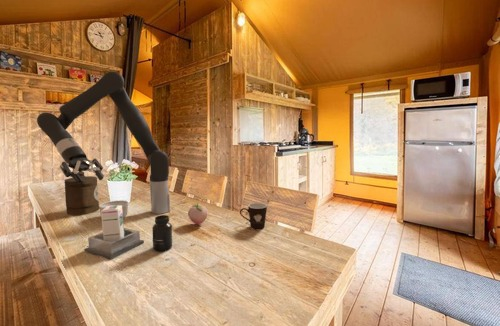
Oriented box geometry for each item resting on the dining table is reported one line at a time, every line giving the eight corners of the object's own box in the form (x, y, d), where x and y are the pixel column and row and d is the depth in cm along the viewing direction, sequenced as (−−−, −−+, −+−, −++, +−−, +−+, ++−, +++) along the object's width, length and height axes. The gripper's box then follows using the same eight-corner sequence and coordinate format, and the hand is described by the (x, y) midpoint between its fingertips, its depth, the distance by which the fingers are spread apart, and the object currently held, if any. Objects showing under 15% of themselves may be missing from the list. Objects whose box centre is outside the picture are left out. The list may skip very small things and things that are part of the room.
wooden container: (104, 209, 137) (101, 170, 135) (74, 217, 125) (70, 174, 122) (91, 205, 145) (88, 168, 143) (61, 212, 133) (57, 172, 130)
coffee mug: (269, 225, 115) (269, 204, 114) (262, 231, 107) (262, 209, 106) (247, 221, 120) (247, 201, 119) (238, 227, 112) (238, 206, 111)
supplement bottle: (154, 254, 87) (152, 221, 86) (152, 246, 93) (150, 215, 92) (174, 249, 91) (173, 218, 89) (170, 242, 97) (169, 212, 95)
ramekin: (93, 219, 123) (92, 205, 122) (116, 211, 135) (115, 199, 134) (112, 223, 118) (111, 208, 117) (134, 214, 130) (134, 201, 129)
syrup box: (121, 247, 90) (119, 208, 89) (103, 249, 89) (100, 210, 87) (125, 240, 96) (122, 204, 94) (108, 242, 94) (105, 205, 93)
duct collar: (119, 236, 102) (118, 225, 101) (144, 242, 96) (143, 230, 95) (84, 251, 89) (83, 238, 88) (111, 259, 83) (110, 245, 83)
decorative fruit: (211, 224, 116) (211, 203, 114) (197, 229, 110) (196, 207, 108) (199, 219, 122) (199, 200, 121) (185, 224, 116) (184, 203, 115)
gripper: (55, 146, 94) (77, 177, 91) (91, 144, 107) (112, 172, 104) (48, 159, 97) (69, 190, 94) (84, 156, 110) (104, 183, 107)
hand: (92, 180), depth 99 cm, fingers open, 8 cm apart
